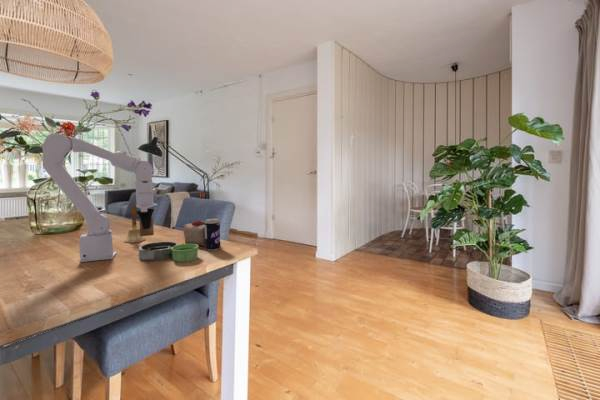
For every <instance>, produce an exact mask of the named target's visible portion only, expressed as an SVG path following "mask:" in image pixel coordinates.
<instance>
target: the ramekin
mask: <svg viewBox="0 0 600 400" xmlns="http://www.w3.org/2000/svg"><path fill="white" fill-rule="evenodd" d="M171 250H172V255H173V257H172V260H173V261H174V262H176V263H186V262H192V261H194V260H196V259H198V255H199V254H198V251H199V245H197V244H186V243H181V244H178V245H176V246H173V247H172V248H171Z"/></svg>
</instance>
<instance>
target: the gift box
mask: <svg viewBox="0 0 600 400" xmlns="http://www.w3.org/2000/svg"><path fill="white" fill-rule="evenodd" d="M182 227H183V236H184V244H197V245H198V246H200V247H204V248H205V221H204V220H202V221H200V220H197V221H194V222H193V223H187V224H184V225H183V226H182Z"/></svg>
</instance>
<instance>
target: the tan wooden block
mask: <svg viewBox="0 0 600 400" xmlns="http://www.w3.org/2000/svg"><path fill="white" fill-rule="evenodd" d="M138 223H139V228H140V236H143V237H149V236H154V234H155V232H154V218H153V217H151V222H150V228H149V229H143V227H142V223H141V220H140V218H139V219H138Z"/></svg>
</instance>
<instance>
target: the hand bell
mask: <svg viewBox="0 0 600 400" xmlns="http://www.w3.org/2000/svg"><path fill="white" fill-rule="evenodd" d="M137 211H138V209H137V207H136V205H135V204H131V208H130V211H129V212H130V217H131V227H129V228H128V233H127V236H126V238H125V239H124V243H127V244H128V243H131V244H132V243H141V242H143V241H146V240H147V239H146V237H145V236H140V227H138V226H137V216H138V214H137Z"/></svg>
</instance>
